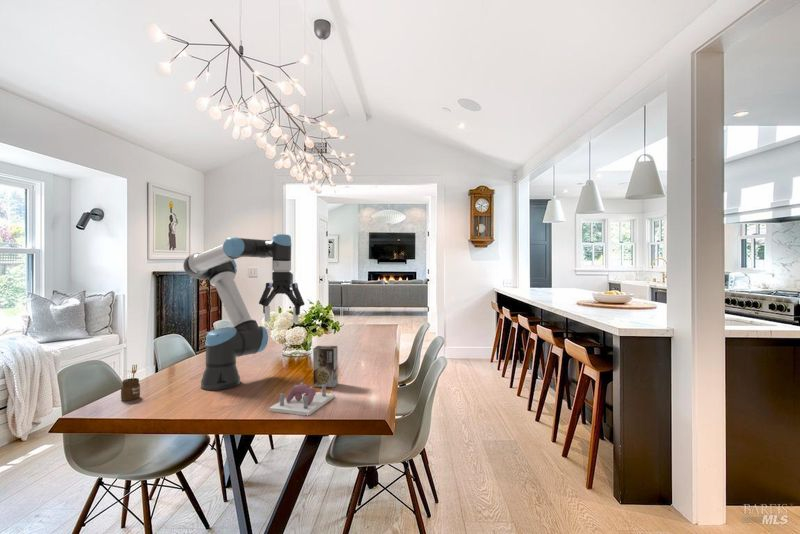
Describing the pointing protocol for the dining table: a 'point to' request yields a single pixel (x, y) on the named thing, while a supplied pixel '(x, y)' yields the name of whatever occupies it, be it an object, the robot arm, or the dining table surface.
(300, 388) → the video game controller
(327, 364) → the coffee box
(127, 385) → the utensil holder
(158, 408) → the dining table surface
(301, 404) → the pin tray
